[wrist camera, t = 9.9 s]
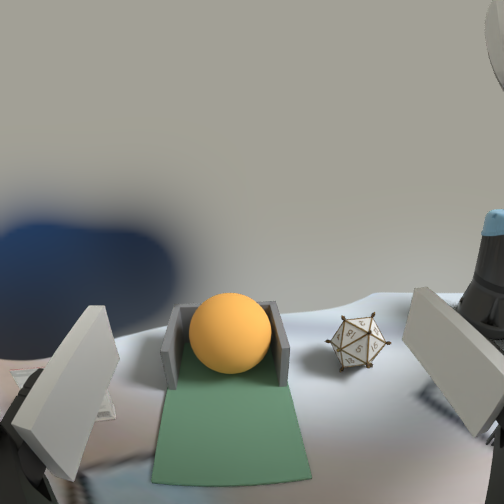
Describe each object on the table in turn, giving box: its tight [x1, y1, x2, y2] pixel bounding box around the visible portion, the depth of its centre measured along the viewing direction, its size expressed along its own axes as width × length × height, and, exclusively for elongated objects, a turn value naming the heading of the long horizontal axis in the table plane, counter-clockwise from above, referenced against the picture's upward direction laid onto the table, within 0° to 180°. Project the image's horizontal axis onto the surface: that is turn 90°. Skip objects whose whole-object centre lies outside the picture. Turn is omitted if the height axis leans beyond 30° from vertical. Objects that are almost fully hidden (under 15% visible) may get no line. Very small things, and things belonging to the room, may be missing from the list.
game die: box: [325, 312, 391, 372], centre depth 40 cm, size 9×8×10 cm
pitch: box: [151, 301, 312, 487], centre depth 34 cm, size 16×27×7 cm, turn 4°
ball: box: [189, 293, 271, 374], centre depth 40 cm, size 11×11×11 cm
